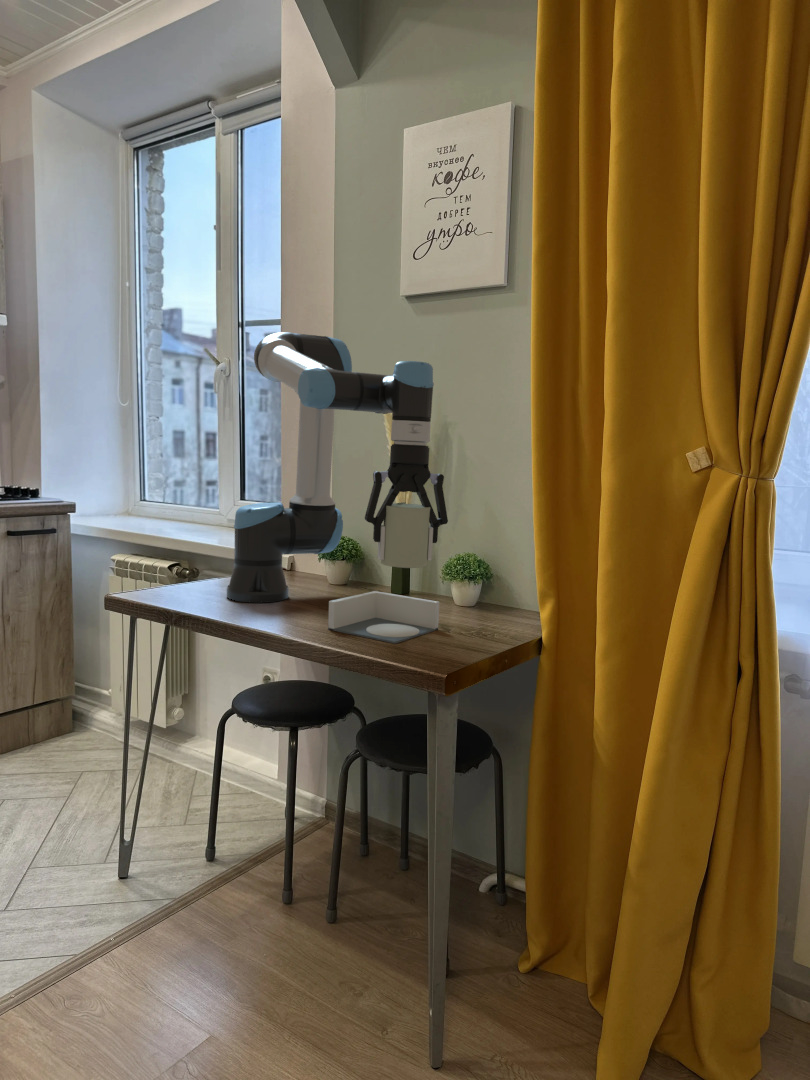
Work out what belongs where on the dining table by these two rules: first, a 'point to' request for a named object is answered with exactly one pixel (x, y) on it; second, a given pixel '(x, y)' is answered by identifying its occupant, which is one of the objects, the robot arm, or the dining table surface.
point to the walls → (383, 610)
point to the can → (406, 535)
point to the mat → (384, 630)
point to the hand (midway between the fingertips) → (404, 558)
